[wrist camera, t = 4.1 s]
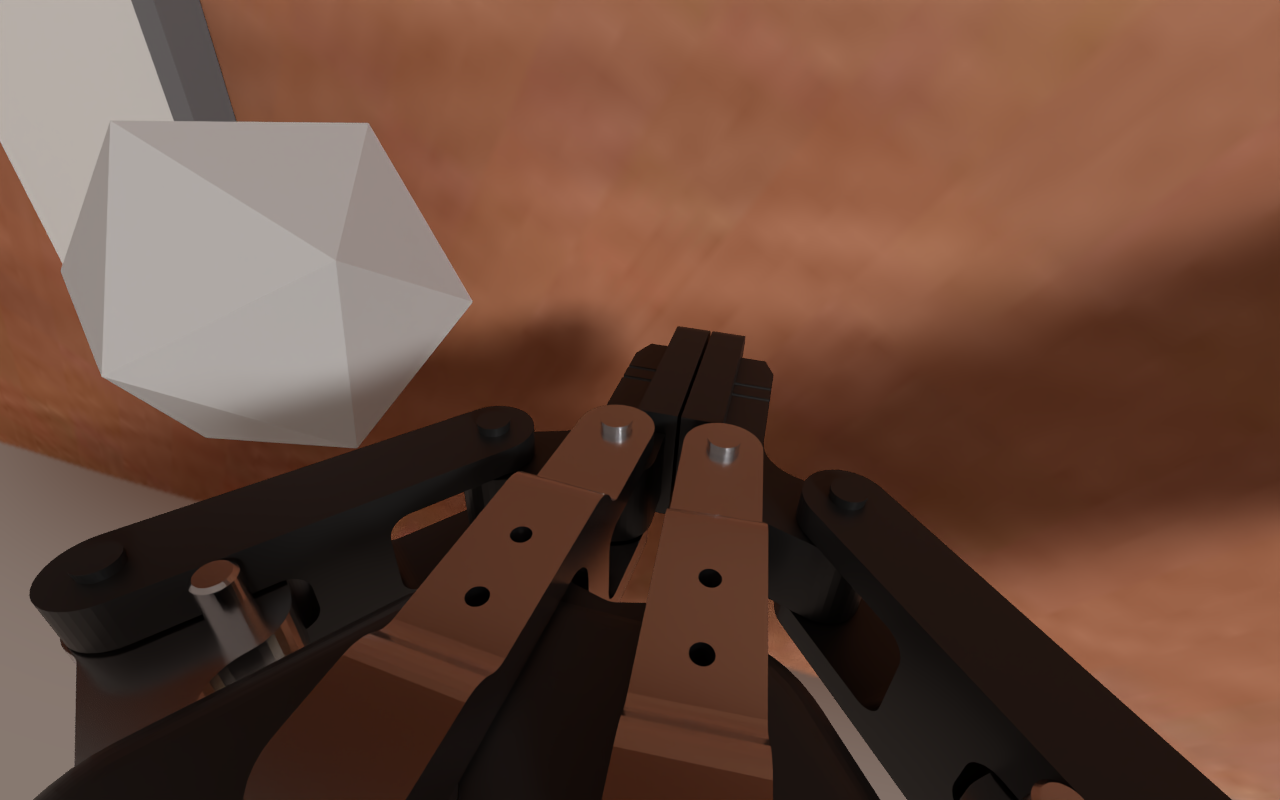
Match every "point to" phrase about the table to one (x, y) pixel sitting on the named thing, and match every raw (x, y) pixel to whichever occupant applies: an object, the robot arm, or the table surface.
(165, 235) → the die
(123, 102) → the white l-shaped plate
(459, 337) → the table surface
